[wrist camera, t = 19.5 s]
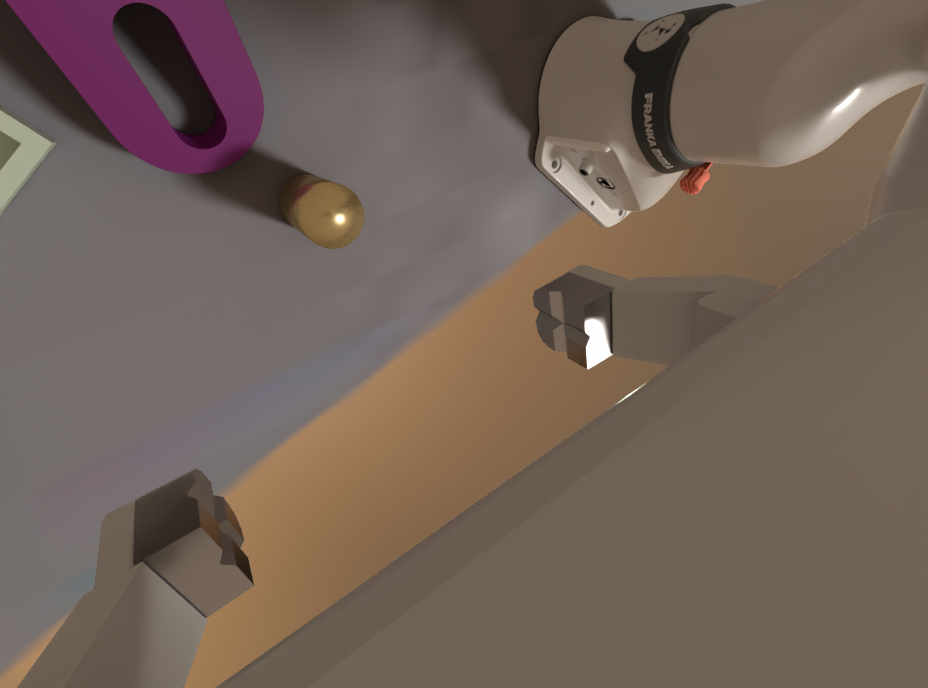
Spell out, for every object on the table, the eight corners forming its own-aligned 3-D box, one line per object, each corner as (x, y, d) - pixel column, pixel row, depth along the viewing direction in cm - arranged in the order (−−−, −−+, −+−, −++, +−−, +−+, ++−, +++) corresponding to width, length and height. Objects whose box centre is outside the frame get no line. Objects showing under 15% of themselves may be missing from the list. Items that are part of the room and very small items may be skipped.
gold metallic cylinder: (346, 200, 39) (375, 212, 33) (314, 241, 39) (338, 260, 33) (302, 161, 36) (326, 168, 30) (267, 206, 36) (286, 221, 30)
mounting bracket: (241, 92, 37) (63, -281, 21) (284, 140, 33) (108, -268, 18) (126, 139, 34) (-171, -249, 19) (160, 196, 31) (-175, -226, 15)
